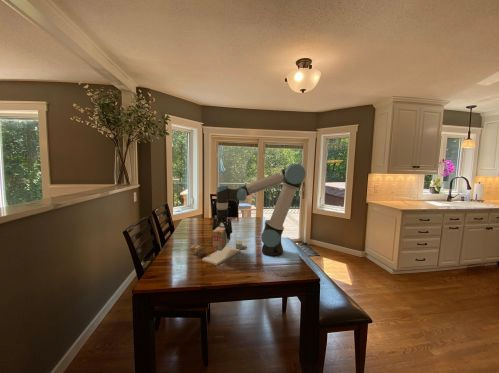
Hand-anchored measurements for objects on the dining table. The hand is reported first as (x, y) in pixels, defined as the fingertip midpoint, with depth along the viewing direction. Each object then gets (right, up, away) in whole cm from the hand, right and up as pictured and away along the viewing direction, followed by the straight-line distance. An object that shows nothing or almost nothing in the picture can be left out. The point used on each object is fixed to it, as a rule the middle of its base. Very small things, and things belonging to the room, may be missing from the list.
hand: (221, 241), depth 153 cm
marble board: (0, -10, +1) cm, 10 cm away
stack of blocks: (0, -2, +1) cm, 2 cm away
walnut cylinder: (-14, -10, 0) cm, 17 cm away
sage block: (+11, -8, +17) cm, 22 cm away
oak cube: (-19, -9, +4) cm, 22 cm away
